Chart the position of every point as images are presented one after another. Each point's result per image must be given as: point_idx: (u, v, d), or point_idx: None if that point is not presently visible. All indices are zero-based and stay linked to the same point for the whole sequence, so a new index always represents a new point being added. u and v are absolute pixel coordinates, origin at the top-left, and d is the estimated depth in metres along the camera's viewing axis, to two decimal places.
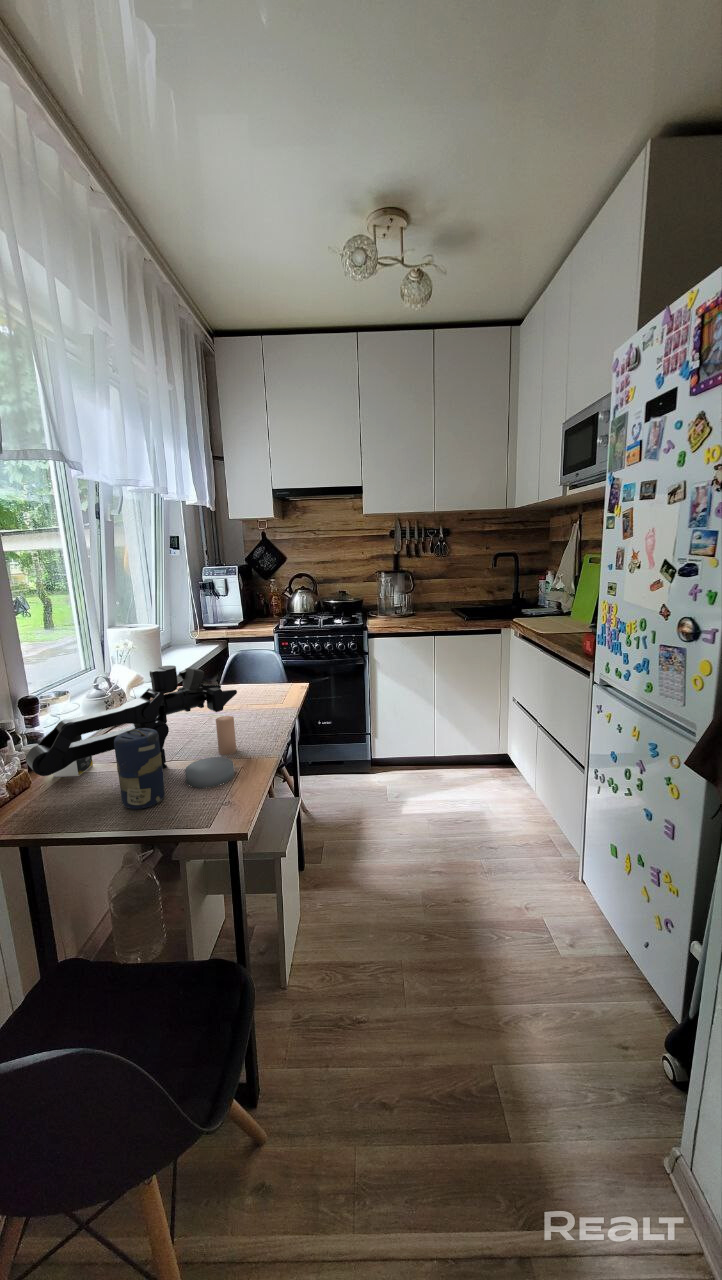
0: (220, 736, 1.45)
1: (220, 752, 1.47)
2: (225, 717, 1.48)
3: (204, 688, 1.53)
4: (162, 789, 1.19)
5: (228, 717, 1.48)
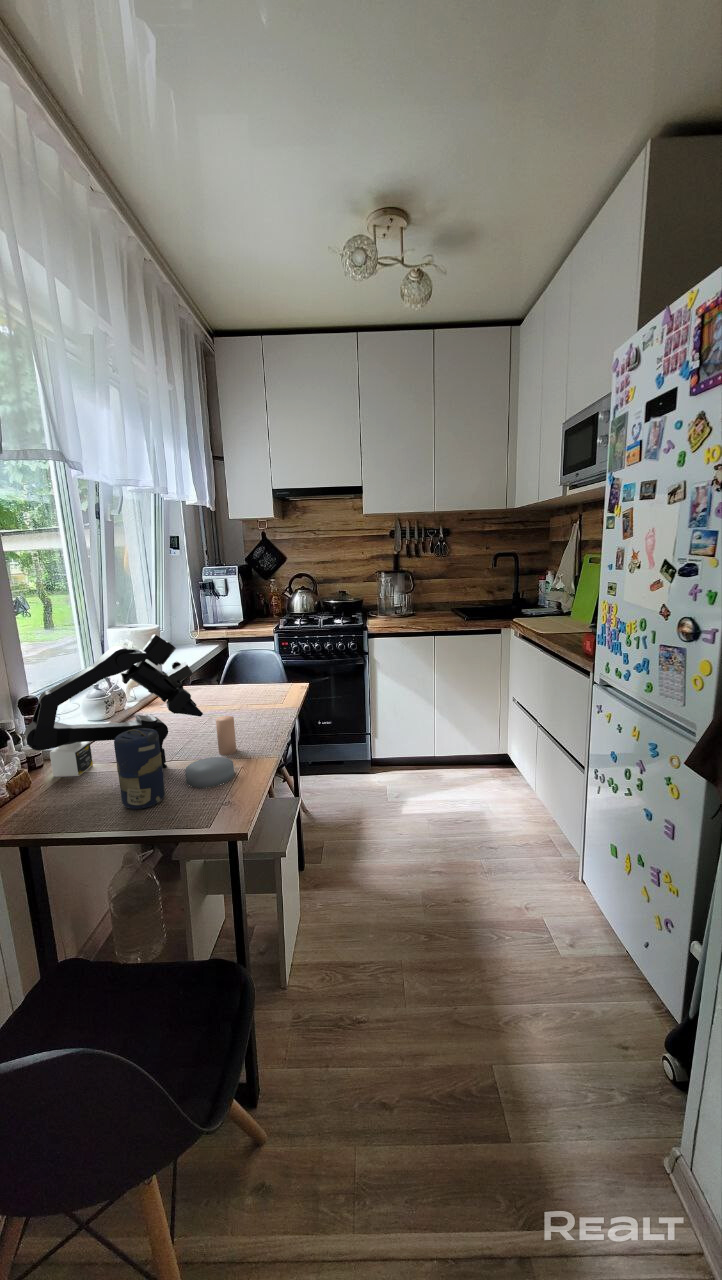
0: (220, 736, 1.45)
1: (220, 752, 1.47)
2: (225, 717, 1.48)
3: None
4: (162, 789, 1.19)
5: (228, 717, 1.48)
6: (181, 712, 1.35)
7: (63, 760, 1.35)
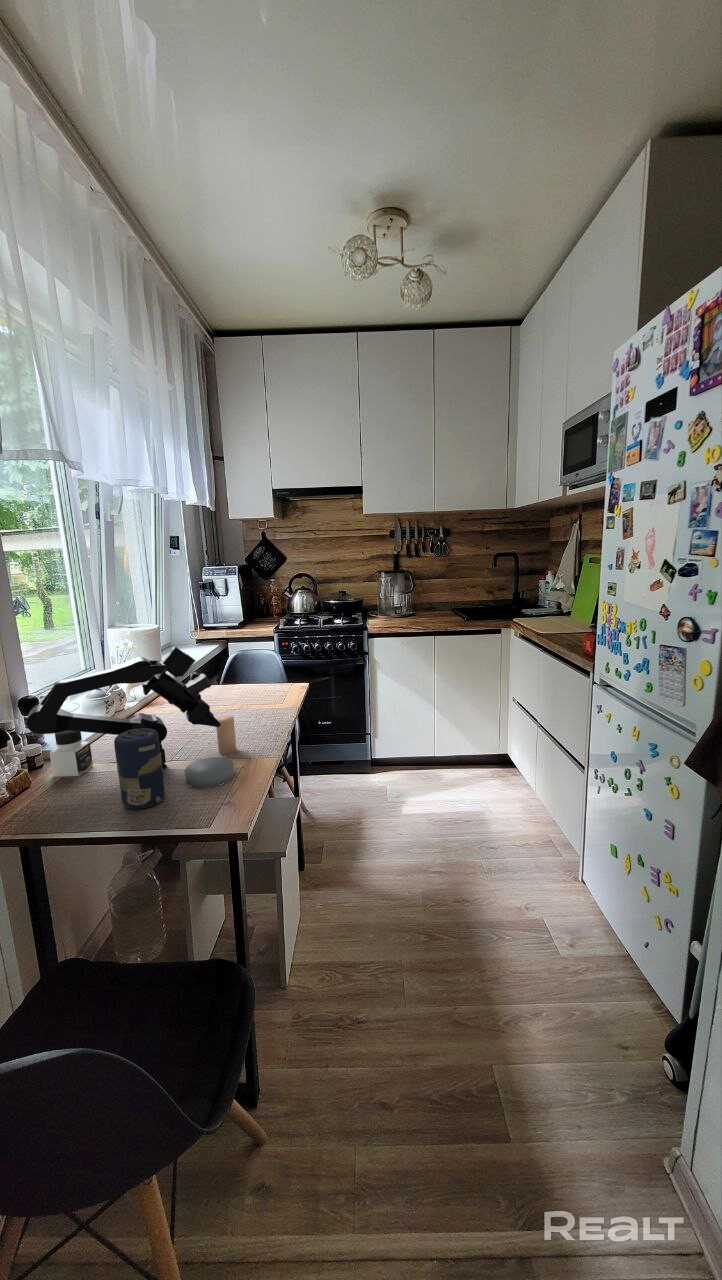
0: (220, 736, 1.45)
1: (220, 752, 1.47)
2: (225, 717, 1.48)
3: None
4: (162, 789, 1.19)
5: (228, 717, 1.48)
6: (200, 723, 1.37)
7: (63, 760, 1.35)
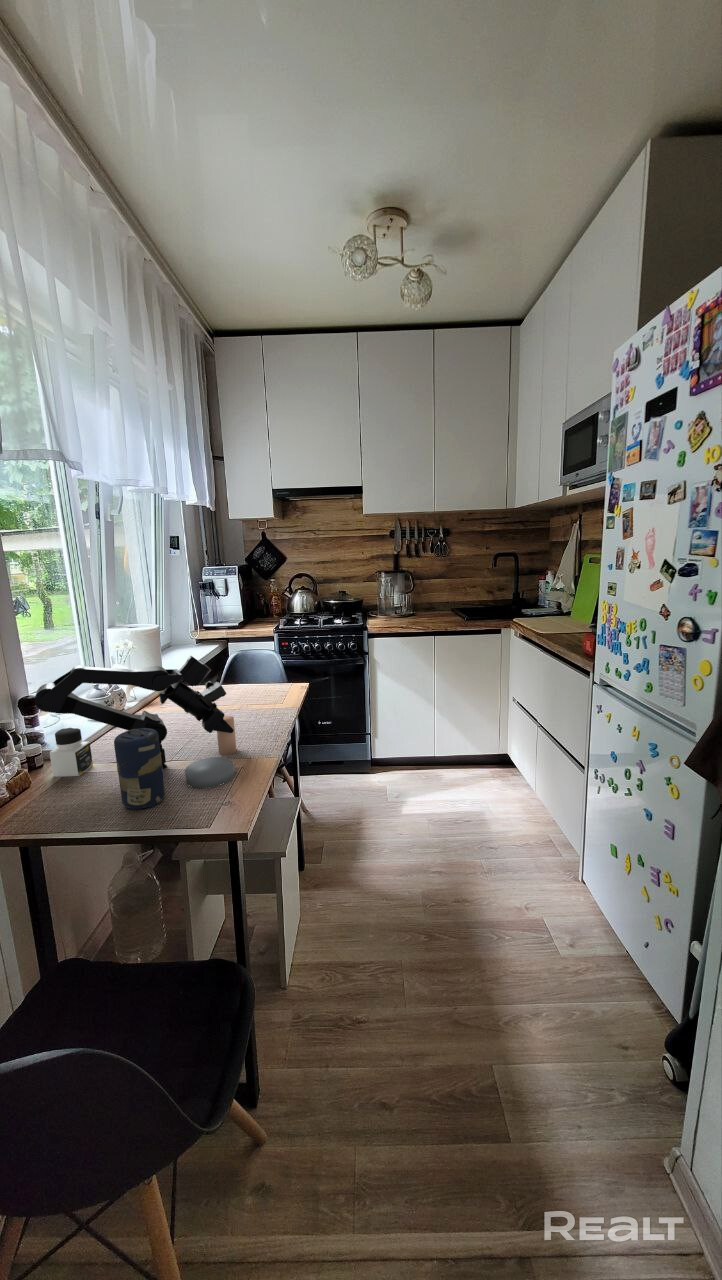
0: (220, 735, 1.45)
1: (220, 752, 1.47)
2: (225, 717, 1.48)
3: None
4: (162, 789, 1.19)
5: (228, 717, 1.48)
6: (214, 729, 1.41)
7: (63, 760, 1.35)
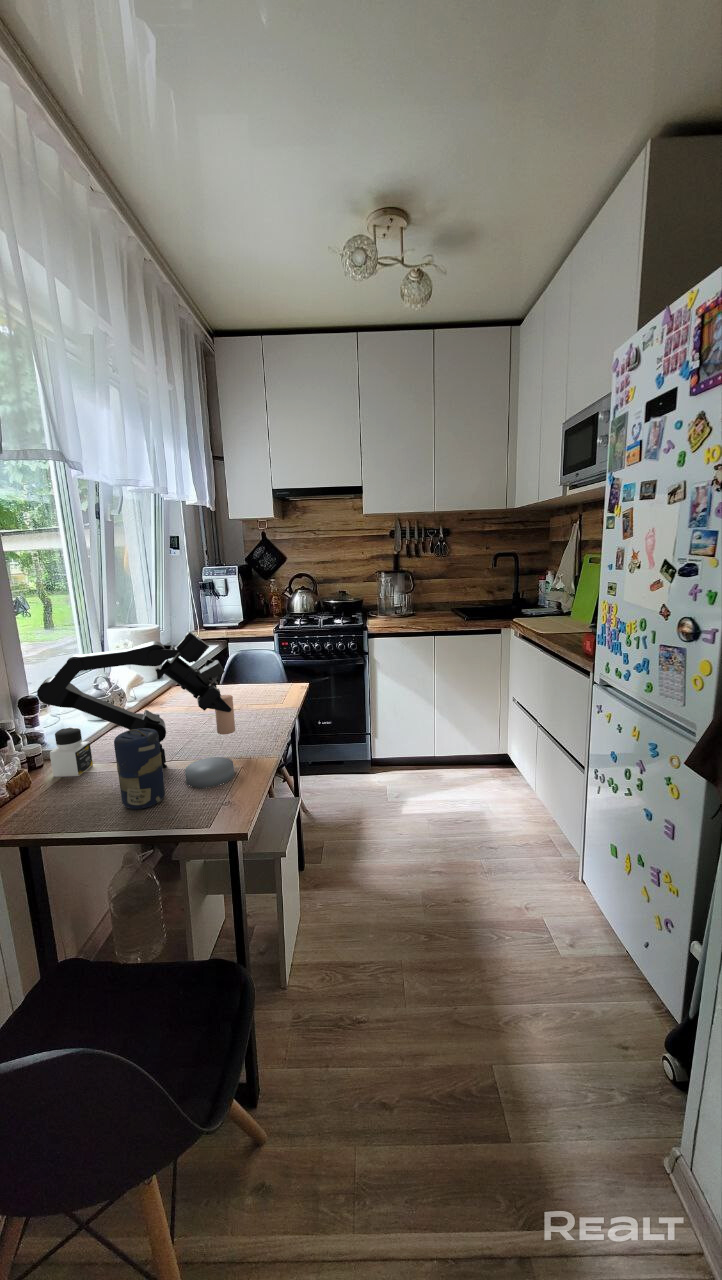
0: (217, 714, 1.42)
1: (218, 731, 1.44)
2: (224, 696, 1.45)
3: None
4: (162, 789, 1.19)
5: (227, 696, 1.45)
6: (210, 707, 1.38)
7: (63, 760, 1.35)
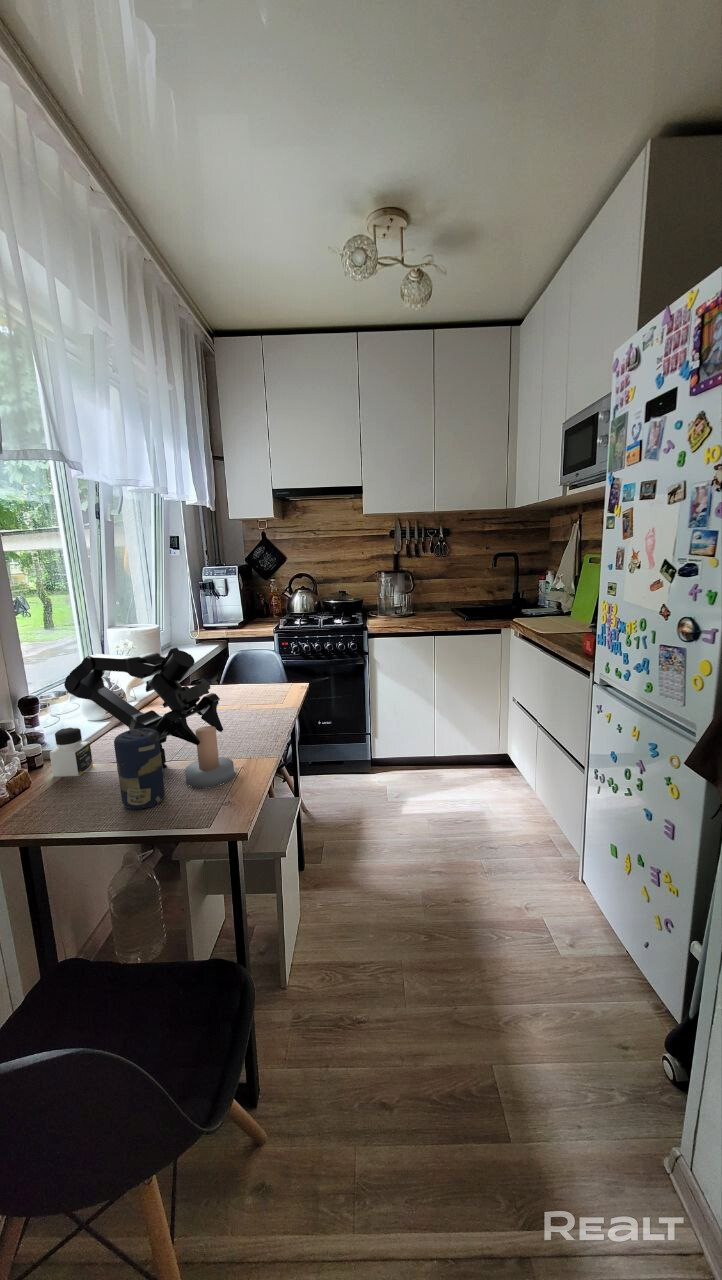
0: None
1: None
2: (209, 728, 1.30)
3: (210, 714, 1.34)
4: (162, 789, 1.19)
5: (211, 729, 1.30)
6: (175, 735, 1.25)
7: (63, 760, 1.35)
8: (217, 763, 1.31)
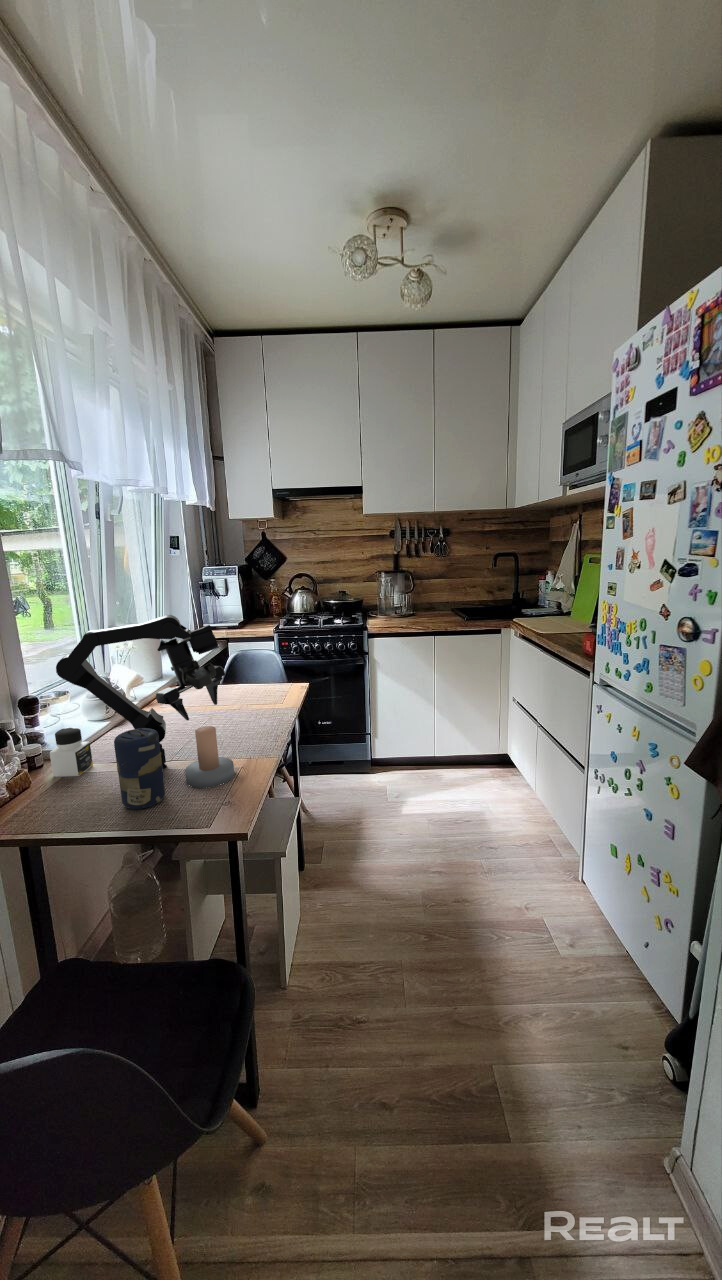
0: None
1: None
2: (209, 728, 1.30)
3: (211, 687, 1.43)
4: (162, 789, 1.19)
5: (211, 729, 1.30)
6: (170, 704, 1.37)
7: (63, 760, 1.35)
8: (217, 763, 1.31)
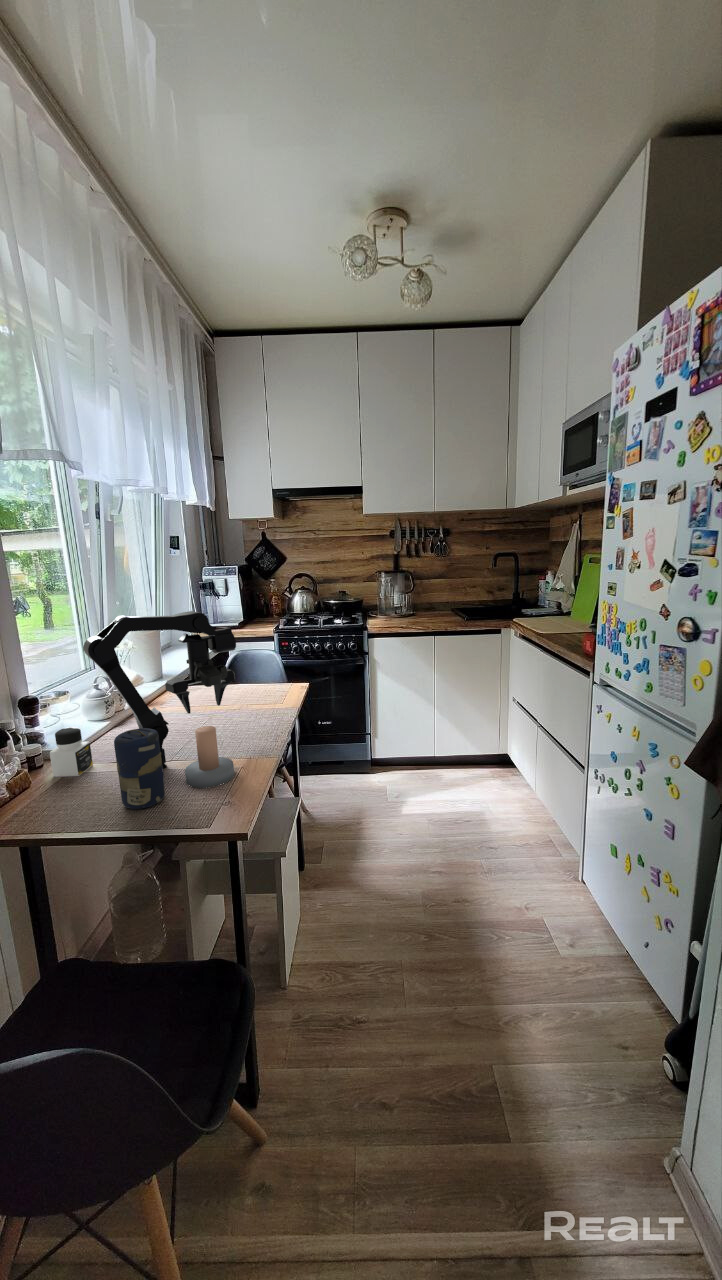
0: None
1: None
2: (209, 728, 1.30)
3: (218, 688, 1.48)
4: (162, 789, 1.19)
5: (211, 729, 1.30)
6: (177, 694, 1.42)
7: (63, 760, 1.35)
8: (217, 763, 1.31)
